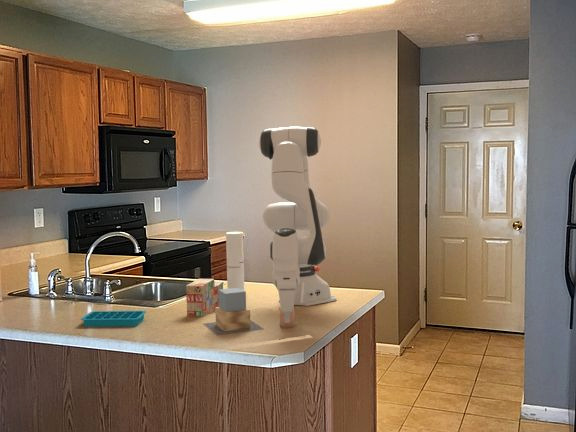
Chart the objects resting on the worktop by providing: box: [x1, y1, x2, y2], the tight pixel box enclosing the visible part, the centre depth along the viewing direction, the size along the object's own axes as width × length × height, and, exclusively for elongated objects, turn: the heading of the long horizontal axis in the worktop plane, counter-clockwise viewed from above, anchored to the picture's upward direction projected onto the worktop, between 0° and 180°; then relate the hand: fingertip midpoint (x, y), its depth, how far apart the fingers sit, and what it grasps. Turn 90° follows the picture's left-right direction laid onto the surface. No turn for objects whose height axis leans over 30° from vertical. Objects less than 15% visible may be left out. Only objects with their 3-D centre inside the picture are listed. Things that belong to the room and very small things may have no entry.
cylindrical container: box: [225, 231, 245, 291], centre depth 270 cm, size 7×7×25 cm
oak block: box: [214, 307, 251, 331], centre depth 210 cm, size 9×9×6 cm
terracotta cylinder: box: [278, 307, 296, 329], centre depth 210 cm, size 5×5×6 cm
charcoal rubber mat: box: [203, 319, 265, 337], centre depth 210 cm, size 16×16×1 cm
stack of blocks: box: [185, 278, 224, 318], centre depth 235 cm, size 21×6×12 cm, turn 166°
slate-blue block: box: [219, 288, 247, 312], centre depth 210 cm, size 7×7×6 cm
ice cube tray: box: [80, 310, 147, 327], centre depth 222 cm, size 12×20×3 cm, turn 87°
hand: (287, 319), depth 210 cm, fingers closed on terracotta cylinder, 5 cm apart
